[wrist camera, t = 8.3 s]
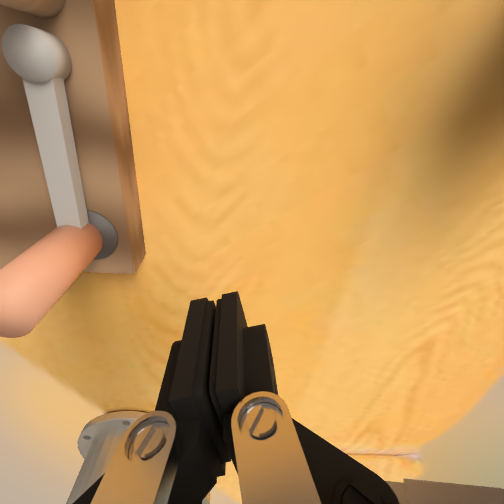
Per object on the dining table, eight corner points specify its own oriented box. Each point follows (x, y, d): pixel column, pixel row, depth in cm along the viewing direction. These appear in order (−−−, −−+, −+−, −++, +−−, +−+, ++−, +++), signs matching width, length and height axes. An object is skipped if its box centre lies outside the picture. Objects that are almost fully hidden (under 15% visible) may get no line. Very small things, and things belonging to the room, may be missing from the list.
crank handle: (107, 256, 20) (41, 339, 14) (65, 253, 20) (-23, 336, 13) (73, 33, 14) (-73, -14, 8) (12, 26, 14) (-193, -30, 8)
